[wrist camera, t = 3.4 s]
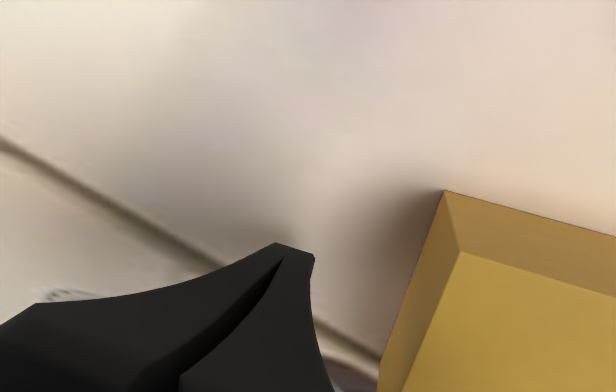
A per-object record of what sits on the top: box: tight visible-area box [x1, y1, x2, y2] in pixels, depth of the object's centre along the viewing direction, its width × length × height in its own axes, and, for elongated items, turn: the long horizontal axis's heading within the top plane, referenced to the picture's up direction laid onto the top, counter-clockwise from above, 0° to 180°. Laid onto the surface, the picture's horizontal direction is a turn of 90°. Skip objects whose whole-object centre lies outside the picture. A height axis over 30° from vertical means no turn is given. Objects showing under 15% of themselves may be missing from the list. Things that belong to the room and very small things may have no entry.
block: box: [377, 191, 616, 392], centre depth 10 cm, size 7×7×4 cm
